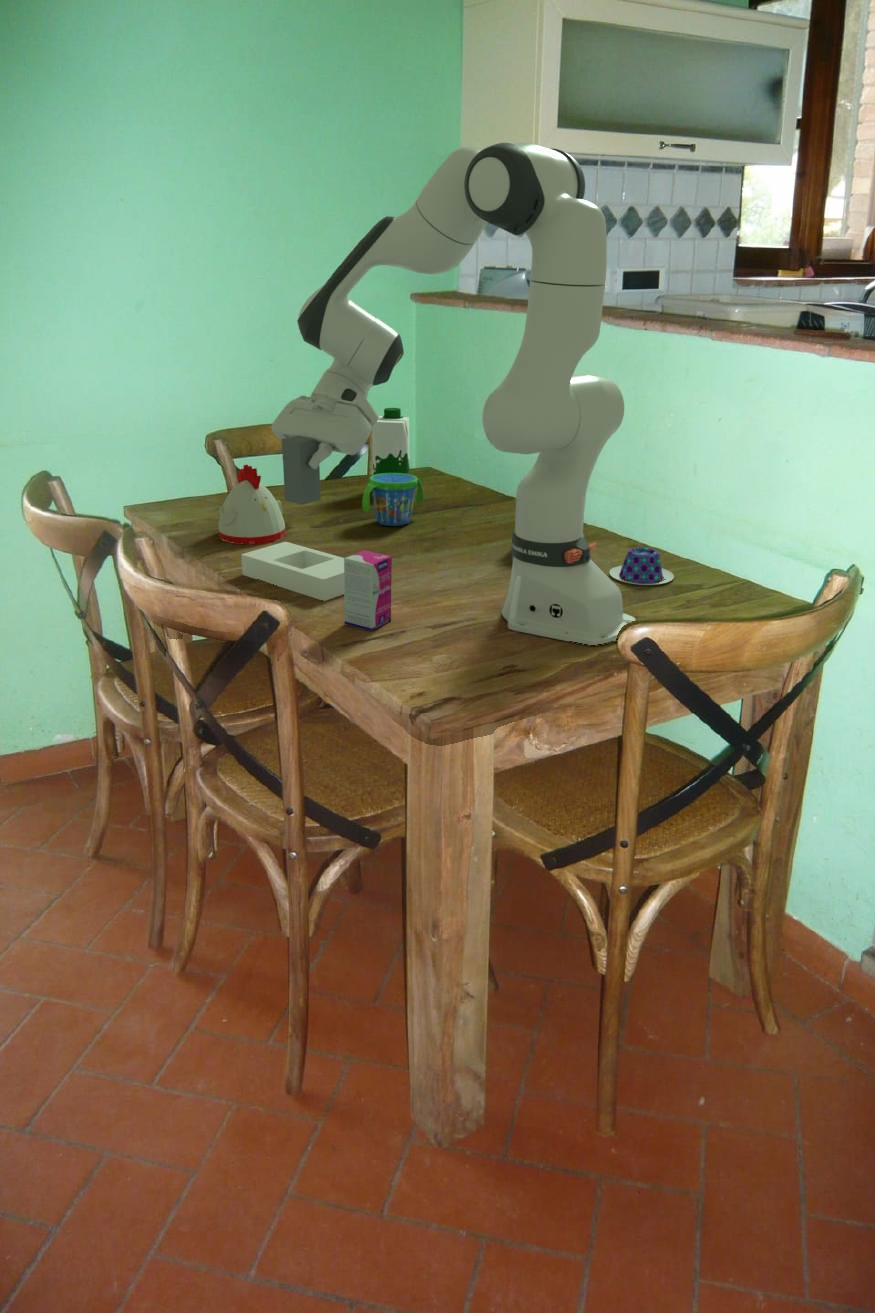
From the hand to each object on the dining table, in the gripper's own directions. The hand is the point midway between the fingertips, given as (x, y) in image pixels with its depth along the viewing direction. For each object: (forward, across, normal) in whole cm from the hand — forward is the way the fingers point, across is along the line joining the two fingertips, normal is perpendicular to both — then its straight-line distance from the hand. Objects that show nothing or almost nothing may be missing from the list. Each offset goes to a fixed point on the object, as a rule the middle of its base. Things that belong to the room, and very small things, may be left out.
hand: (298, 464), depth 175 cm
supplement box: (+21, +24, +10) cm, 33 cm away
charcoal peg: (+4, 0, +5) cm, 7 cm away
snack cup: (-13, -14, +44) cm, 48 cm away
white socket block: (+15, 0, +15) cm, 22 cm away
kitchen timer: (+6, -30, +25) cm, 40 cm away
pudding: (-15, +46, +46) cm, 67 cm away
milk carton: (-27, -33, +58) cm, 72 cm away
